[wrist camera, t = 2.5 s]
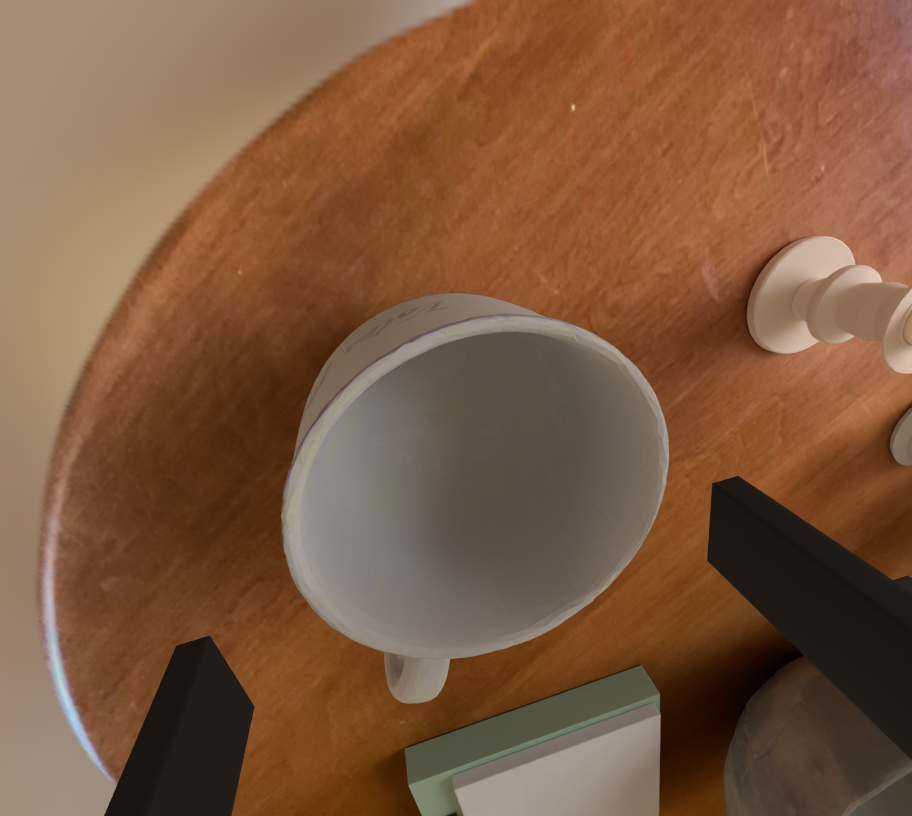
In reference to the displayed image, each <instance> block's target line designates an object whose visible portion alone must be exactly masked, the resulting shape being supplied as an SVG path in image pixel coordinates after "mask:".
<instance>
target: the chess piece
mask: <svg viewBox="0 0 912 816" xmlns="http://www.w3.org/2000/svg"><path fill="white" fill-rule="evenodd" d="M890 450H891V453H892V454H893V456H894V458H895V460H896V461H897V462H898V463H899V464H902V465H905V466H912V407H911V408H910V409H909V410H908V411H907V412H906V413H905V414H904V415H903V416H902V418H901V419H900V420H899V422H898V423H897V425H896V427H895V428H894V431H893V433H892V436H891V440H890Z"/></svg>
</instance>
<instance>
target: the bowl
mask: <svg viewBox="0 0 912 816" xmlns="http://www.w3.org/2000/svg"><path fill="white" fill-rule="evenodd" d="M724 797H725V806H726V813H727V816H912V760H911V759H910V758H909V757H908V756H907V755H906V754H905V753H904V752H903V751H902V750H901V749H900V748H899V747H898V746H896V745H895V744H894V743H893V742H892V741H891V740H890V739H889V738H888V737H887V736H886V735H885V734H884V733H883V732H882V731H881V730H880V729H879V728H878V727H877V726H876V725H875V724H874V723H873V722H872V721H871V720H870V719H869V718H868V717H867V716H866V715H865V714H864V713H863V712H862V711H861V710H860V709H859V708H858V707H857V706H856V705H855V704H854V703H852V702H851V701H850V700H849V699H848V698H847V697H846V696H845V695H844V694H843V693H842V692H841V691H840V690H839V689H838V688H837V687H836V686H835V685H834V684H833V683H832V682H831V681H830V680H829V679H828V678H827V677H826V676H825V675H824V674H823V673H822V672H821V671H820V670H819V669H818V668H817V667H816V666H815V665H814V664H813V663H812V662H811V661H810V660H808V659H807V658H806V657H805V656H802V657H799V658H797V659H795V660H793V661H791V662H789V663H787V664H785V665H784V666H783V667H781V668H780V669H779V670H777V671H776V673H775V674H774V675H773V676H772V677H770V678H769V679H768V680H767V681H766V682H765V683H764V684H763V685H762V686H761V687H760V688H759V689H758V690H757V692H756V693H755V694H754V695H753V696H752V697H751V698H750V699H749V701H748V703H747V705H746V707H745V709H744V710H743V712H742V714H741V716H740V718H739V721H738V723H737V725H736V729H735V733H734V735H733V737H732V740H731V742H730V745H729V749H728V753H727V757H726V761H725V765H724Z"/></svg>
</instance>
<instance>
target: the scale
mask: <svg viewBox="0 0 912 816" xmlns="http://www.w3.org/2000/svg"><path fill="white" fill-rule="evenodd" d="M660 719H661V715H660V693H659V691H658V690H657V688H656V687H655V685H654V684H653V682H652V681H651V679H650V677H649V676H648V674H647V673H646V671H645V670H644V668H643V667H642V665H640V666H637V667H634V668H631V669H629V670H626V671H623V672H620V673H617V674H614V675H612V676H609V677H606V678H603V679H600V680H597V681H595V682H592V683H589V684H586V685H583V686H580V687H578V688H575V689H572V690H569V691H566V692H563V693H561V694H558V695H555V696H552V697H549V698H546V699H544V700H541V701H538V702H535V703H532V704H529V705H527V706H524V707H521V708H518V709H515V710H512V711H510V712H507V713H504V714H501V715H498V716H495V717H493V718H490V719H487V720H484V721H481V722H479V723H476V724H473V725H470V726H467V727H464V728H462V729H459V730H456V731H453V732H450V733H447V734H445V735H442V736H439V737H436V738H433V739H430V740H428V741H425V742H422V743H419V744H416V745H413V746H411V747H408V748H405V758H406V769H407V779H408V786H409V788H410V790H411V793H412V795H413V797H414V799H415V802H416V804H417V806H418V808H419V810H420V813H421V815H422V816H659V788H660Z"/></svg>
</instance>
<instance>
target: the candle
mask: <svg viewBox="0 0 912 816" xmlns="http://www.w3.org/2000/svg"><path fill="white" fill-rule="evenodd" d="M747 323H748V328H749V332H750V334H751V336H752V337H753V339H754V341H755V342H756V343H757V344H758V345H760V346H761V347H762V348H764V349H766V350H769V351H772V352H776V353H779V354H791V353H796V352H799V351H802V350H805V349H807V348H809V347H810V346H812V345H814V344H815V343H817V342H819V341H822V342H826V343H829V344H836V343H841V342H844V341H847V340H849V339H851V338H853V337H854V336H856V337H859V338H861V339H864V340H867V341H882V343H881V346H882V356H883V358H884V361H885V363H886V365H887V366H888V367H890V368H891V369H892V370H893V371H896V372H900V373H903V374H907V373H912V286H911V287H908V286H906V285H904V284H901V283H898V282H882V280H881V278H880V275H879V274H878V273H877V272H876V271H875V270H874V269H873V268H871V267H869V266H865V265H855V260H854V258H853V255H852V253H851V251H850V249H849V248H848V247H847V246H846V245H845V244H844V243H843V242H842V241H840V240H838V239H835V238H833V237H827V236H809V237H806V238H803V239H799V240H796V241H794V242H793V243H791V244H789V245H788V246H786V247H785V248H783V249H782V250H780V251H779V252H778V253H777V254H776V255H775V256H774V257H773V258H772V259H771V260H770V261H769V262H768V263H767V264H766V266H765V267H764V269H763V270H762V271H761V273H760V274H759V275H758V277H757V280H756V282H755V284H754V286H753V288H752V290H751V293H750V297H749V301H748V305H747Z"/></svg>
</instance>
